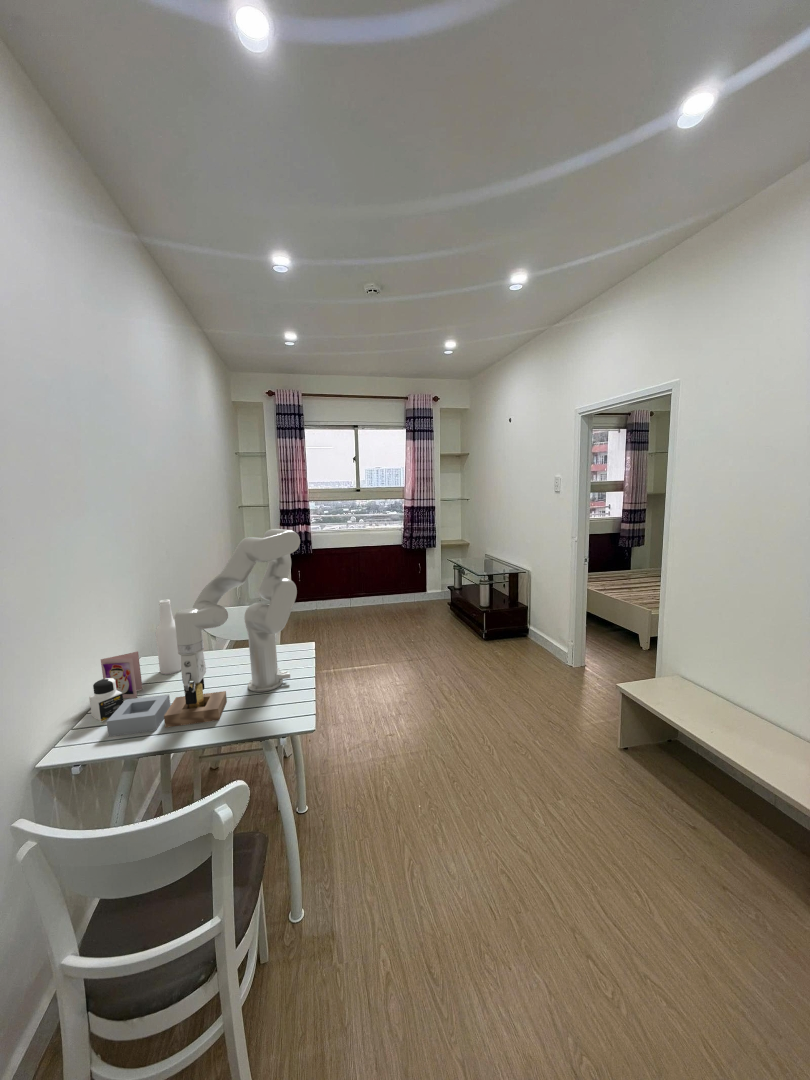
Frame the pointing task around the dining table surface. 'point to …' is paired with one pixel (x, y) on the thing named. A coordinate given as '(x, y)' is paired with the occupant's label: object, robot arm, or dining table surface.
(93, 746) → the dining table surface
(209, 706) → the brown hollow frame
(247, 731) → the dining table surface
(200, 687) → the brass axle
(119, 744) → the dining table surface
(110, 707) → the medicine bottle
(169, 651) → the alcohol
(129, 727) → the slate seat block
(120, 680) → the greeting card
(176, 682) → the dining table surface
